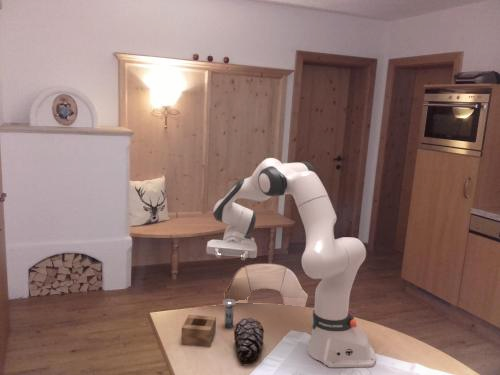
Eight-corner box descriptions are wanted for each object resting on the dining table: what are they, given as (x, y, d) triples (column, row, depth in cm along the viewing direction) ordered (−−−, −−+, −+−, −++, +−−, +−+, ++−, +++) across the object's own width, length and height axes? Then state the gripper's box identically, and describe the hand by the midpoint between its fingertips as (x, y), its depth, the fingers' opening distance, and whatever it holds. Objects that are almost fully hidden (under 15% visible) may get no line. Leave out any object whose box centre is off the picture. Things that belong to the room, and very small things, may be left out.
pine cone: (236, 368, 141) (237, 339, 139) (232, 339, 158) (232, 312, 156) (269, 367, 142) (270, 338, 140) (261, 338, 159) (262, 312, 157)
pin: (236, 323, 169) (236, 299, 167) (234, 330, 164) (234, 304, 162) (223, 322, 169) (224, 298, 168) (221, 329, 165) (221, 303, 163)
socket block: (215, 332, 162) (215, 316, 161) (210, 346, 153) (210, 330, 152) (188, 329, 163) (188, 314, 162) (181, 344, 154) (181, 327, 153)
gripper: (208, 233, 185) (204, 247, 172) (257, 238, 185) (257, 252, 172) (207, 247, 187) (203, 262, 174) (256, 252, 187) (255, 267, 173)
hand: (230, 257), depth 173 cm, fingers open, 8 cm apart
